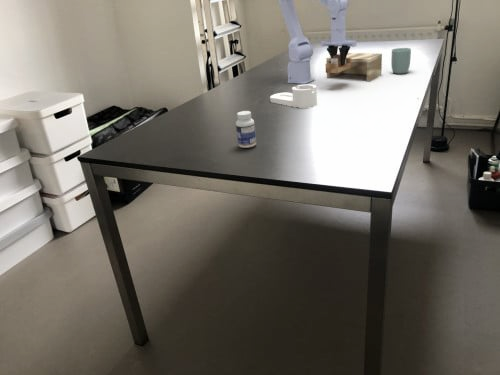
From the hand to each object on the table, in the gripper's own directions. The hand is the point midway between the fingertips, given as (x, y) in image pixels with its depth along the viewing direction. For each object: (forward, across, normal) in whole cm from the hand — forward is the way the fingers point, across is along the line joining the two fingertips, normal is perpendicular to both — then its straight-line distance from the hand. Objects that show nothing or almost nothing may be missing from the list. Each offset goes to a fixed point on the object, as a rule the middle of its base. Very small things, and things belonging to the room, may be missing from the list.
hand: (338, 64), depth 177 cm
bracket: (+9, -5, -26) cm, 28 cm away
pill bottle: (+9, +7, -69) cm, 70 cm away
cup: (+9, +14, +29) cm, 34 cm away
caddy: (+2, 0, 0) cm, 2 cm away
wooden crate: (+9, -2, +17) cm, 19 cm away
